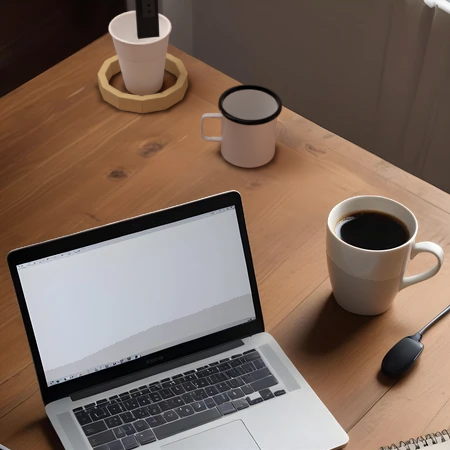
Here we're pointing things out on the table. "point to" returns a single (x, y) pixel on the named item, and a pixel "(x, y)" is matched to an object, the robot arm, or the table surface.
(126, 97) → the tan faceted ring
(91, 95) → the table surface
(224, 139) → the mug
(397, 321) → the table surface
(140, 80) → the cup
